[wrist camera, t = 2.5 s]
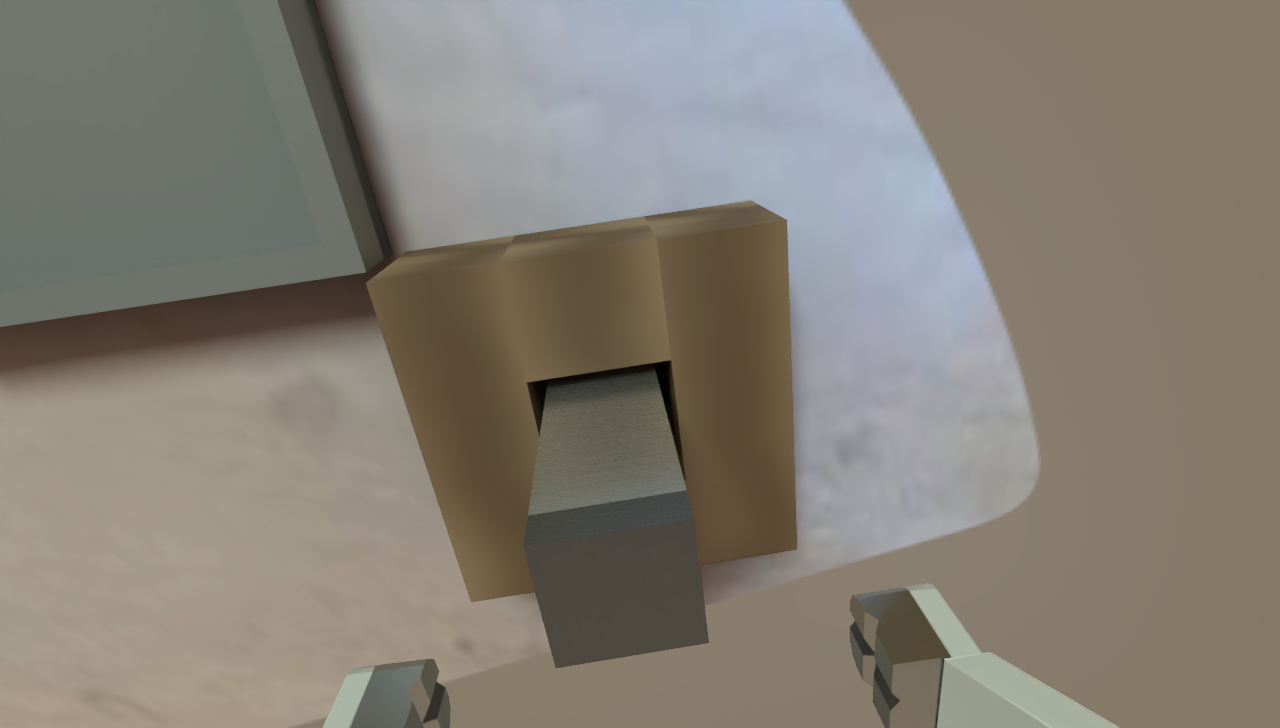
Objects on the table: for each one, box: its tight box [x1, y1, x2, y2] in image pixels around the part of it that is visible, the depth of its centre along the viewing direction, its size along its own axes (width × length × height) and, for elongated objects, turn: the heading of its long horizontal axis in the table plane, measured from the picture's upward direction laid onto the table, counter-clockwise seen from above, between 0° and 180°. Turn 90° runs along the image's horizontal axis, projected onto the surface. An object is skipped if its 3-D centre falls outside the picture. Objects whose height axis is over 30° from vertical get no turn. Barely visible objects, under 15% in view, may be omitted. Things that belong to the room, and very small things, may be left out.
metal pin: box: [523, 363, 709, 668], centre depth 18 cm, size 4×4×11 cm
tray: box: [0, 0, 391, 327], centre depth 16 cm, size 15×15×2 cm
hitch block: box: [366, 201, 797, 602], centre depth 21 cm, size 12×12×4 cm
